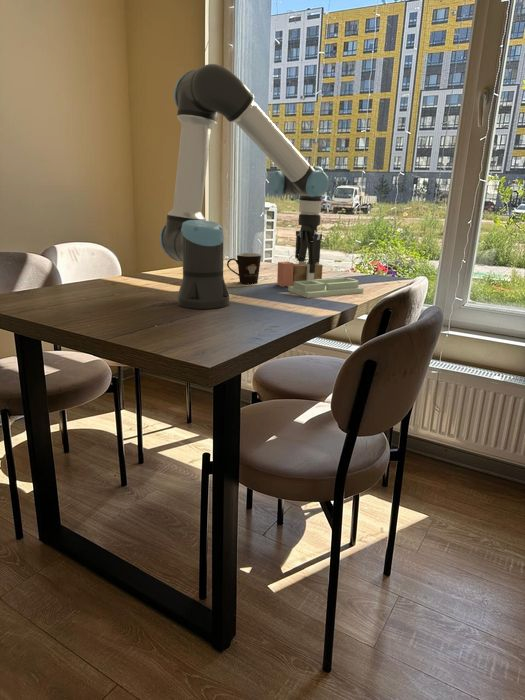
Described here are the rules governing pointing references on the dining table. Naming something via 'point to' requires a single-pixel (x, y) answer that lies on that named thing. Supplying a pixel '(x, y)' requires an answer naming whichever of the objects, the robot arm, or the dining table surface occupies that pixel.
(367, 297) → the dining table surface
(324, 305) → the dining table surface
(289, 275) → the red block
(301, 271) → the brown wooden block
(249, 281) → the coffee mug
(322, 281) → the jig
